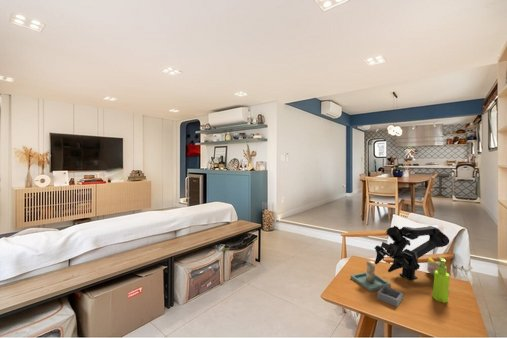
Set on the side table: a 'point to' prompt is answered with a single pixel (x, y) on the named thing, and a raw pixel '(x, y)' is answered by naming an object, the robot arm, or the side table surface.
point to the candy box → (432, 266)
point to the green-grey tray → (361, 280)
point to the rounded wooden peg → (370, 272)
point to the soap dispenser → (441, 282)
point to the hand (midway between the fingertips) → (381, 267)
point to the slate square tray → (390, 296)
